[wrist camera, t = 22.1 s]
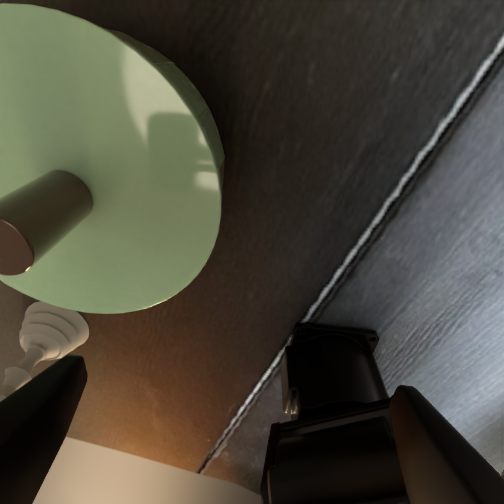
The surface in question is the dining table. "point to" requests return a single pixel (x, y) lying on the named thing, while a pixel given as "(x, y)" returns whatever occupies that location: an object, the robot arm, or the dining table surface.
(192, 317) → the dining table surface
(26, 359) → the chalice
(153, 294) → the pot lid
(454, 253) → the dining table surface
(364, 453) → the robot arm
